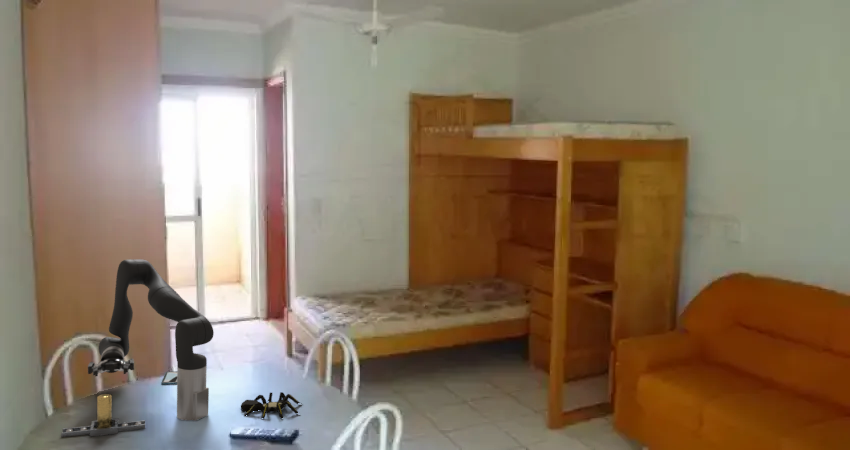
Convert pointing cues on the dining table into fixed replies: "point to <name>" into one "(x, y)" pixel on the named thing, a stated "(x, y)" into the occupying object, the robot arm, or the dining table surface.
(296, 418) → the dining table surface
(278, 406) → the toy
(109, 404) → the brass pin
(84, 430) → the ball bearing track
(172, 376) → the smartphone
